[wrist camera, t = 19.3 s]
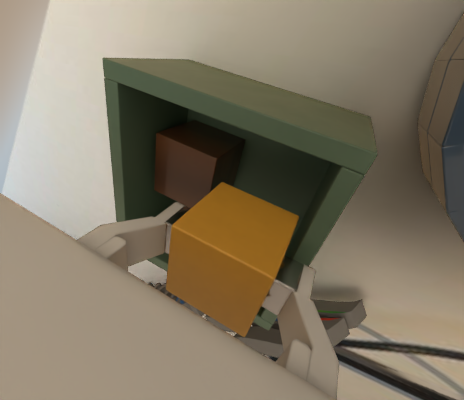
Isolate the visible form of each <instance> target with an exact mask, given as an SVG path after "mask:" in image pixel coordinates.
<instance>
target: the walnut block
mask: <svg viewBox="0 0 464 400" xmlns="http://www.w3.org/2000/svg"><path fill="white" fill-rule="evenodd" d="M244 144H245V139H242V138H240V137H237V136H235V135H232V134H229V133H227V132H224V131H222V130H219V129H217V128H214V127H212V126H209V125H206V124H204V123H201V122H199V121H196V120H193V121H190V122H187V123H184V124H181V125H178V126H175V127H172V128H169V129H166V130H164V131H161V132H158V133H156V157H155V184H154V190H155V191H157V192H159V193H161V194H163V195H165V196H167V197H169V198H171V199H173V200H175V201H177V202H179V203H181V204H183V205H185V206H187V207H189V208H192V207H193V206H195V205H196V204H197V203H198V202H199V201H200V200H202V199H203V198H204V197H205V196H206V195H207V194H209V193H210V192H211V191H212V190H213V189H214V188H215V187H217V186H218V185H219V184H220V183H221V182H224V183H226V184H228V185H231V186H233V185H234V182H235V178H236V174H237V170H238V166H239V163H240V159H241V155H242V151H243V148H244Z"/></svg>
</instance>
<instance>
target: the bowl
mask: <svg viewBox="0 0 464 400" xmlns="http://www.w3.org/2000/svg"><path fill="white" fill-rule="evenodd" d="M435 60H436V61H435V62H434V64H433V68H432V72H431V75H430V79H429V82H428V86H427V89H426V93H425V96H424V100H423V104H422V107H421V111H420V114H419V118H418V133H419V143H420V153H421V163H422V171H423V173H424V175H425V177H426V179H427V180H428V182H429V184H430V185H431V187H432V189H433V191H434V192H435V194H436V196H437V198H438V199H439V201H440V203H441V205H442V206H443V208H444V210H445V212H446V213H447V215H448V217H449V218H450V220H451V222H452V223H453V225H454V227H455V229H456V230H457V232H458V234H459V235H460V237H461V239H462V240H463V242H464V13H463V15H462V17H461V18H460V20H459V21H458V23H457V25H456V26H455V28H454V30H453V31H452V33H451V34H450V36H449V38H448V39H447V41H446V43H445V44H444V46H443V47H442V49H441V51H440V52H439V54H438V56H437V57H436V59H435Z"/></svg>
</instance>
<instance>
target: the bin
mask: <svg viewBox="0 0 464 400" xmlns="http://www.w3.org/2000/svg"><path fill="white" fill-rule="evenodd" d="M103 69H104V77H105V78H104V81H105V92H106V104H107V116H108V127H109V139H110V150H111V162H112V174H113V185H114V197H115V208H116V220H117V222H122V221H127V220H133V219H139V218H145V217H151V216H152V217H154V218H155V217H156V216H157V215H159V214H160V213H161V212H163V211H164V210H165V209H167V208H168V207H169V206H171V205H172V204H173V203H175V202H177V201H175V200H173V199H171V198H169V197H167V196H165V195H163V194H161V193H159V192H157V191H155V190H154V184H155V157H156V133H158V132H161V131H164V130H166V129H169V128H172V127H175V126H178V125H181V124H184V123H187V122H190V121H193V120H196V121H199V122H201V123H204V124H206V125H209V126H212V127H214V128H217V129H219V130H222V131H224V132H227V133H229V134H232V135H235V136H237V137H240V138H242V139H245V144H244V148H243V151H242V155H241V159H240V163H239V166H238V170H237V174H236V178H235V182H234V185H233V187H235V188H237V189H240V190H242V191H244V192H246V193H249V194H251V195H253V196H255V197H258V198H260V199H262V200H264V201H267V202H269V203H271V204H273V205H276V206H278V207H280V208H282V209H285V210H287V211H289V212H291V213H294V214H296V215H298V216H299V220H298V222H297V225H296V227H295V230H294V232H293V235H292V238H291V240H290V243H289V245H288V248H287V250H286V253H285V256H288V257H290V258H292V259H294V260H296V261H298V262H300V263H302V264H304V265H307V266H309V265H310V264H311V262H312V260H313V259H314V257H315V255H316V254H317V252H318V251H319V249H320V247H321V246H322V244H323V242H324V241H325V239H326V238H327V236H328V234H329V233H330V231H331V229H332V228H333V226H334V225H335V223H336V221H337V220H338V218H339V217H340V215H341V213H342V212H343V210H344V208H345V207H346V205H347V204H348V202H349V200H350V199H351V197H352V195H353V194H354V192H355V191H356V189H357V187H358V186H359V184H360V183H361V181H362V179H363V178H364V174H366V173H367V171H368V170H369V168H370V166H371V165H372V163H373V162H374V160H375V158H376V157H377V155H378V153H377V148H376V143H375V137H374V132H373V127H372V122H371V117H369V116H366V115H363V114H360V113H357V112H353V111H350V110H347V109H344V108H341V107H337V106H334V105H331V104H328V103H325V102H322V101H318V100H315V99H312V98H309V97H306V96H303V95H299V94H296V93H293V92H290V91H287V90H284V89H280V88H277V87H274V86H271V85H268V84H264V83H261V82H258V81H255V80H252V79H249V78H245V77H242V76H239V75H236V74H233V73H230V72H226V71H223V70H220V69H217V68H214V67H211V66H207V65H204V64H201V63H198V62H195V61H191V60H183V59H138V58H103ZM147 260H148V261H150V262H152V263H153V264H155V265H157V266H158V267H160V268H162V269H164V270H165V271H168V260H169V254H167V253H165V252H164V253H163V254H160V255H158V256H155V257H152V258H150V259H147ZM276 319H277V315H275V314H274V313H272V312H270V311H269V310H267V309H265V308H264V307H262V306H261V307H260V309H259V311H258V313H257V315H256V317H255V319H254V321H253V322H254V323H256V324H258V325H259V326H261V327H263V328H264V329H266V330H268V331H269V330H270V328H271V327H272V325H273V323H274V322H275V320H276Z"/></svg>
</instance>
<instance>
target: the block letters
mask: <svg viewBox="0 0 464 400" xmlns="http://www.w3.org/2000/svg"><path fill="white" fill-rule="evenodd" d="M148 284H149V285H150V286H152V287H153V285H152V284H151V283H148ZM154 288H155V289H157V290H159V291H160V292H162V293H163V294H165V295H167V296H168V297H170V298H172V299H173V300H175V301H176V302H178V303H180V304H181V305H183V306H185V307H186V308H188V309H189V310H191V311H193V312H194V313H196V314H198V315H199V316H202V315H204V314H205V313H203V312H202V311H200V310H198V309H197V308H195V307H193V306H192V305H190V304H188V303H187V302H185V301H183V300H182V299H180V298H179V297H177V296H175V295H174V294H172V293H170V292H169V291H167V290H166V284H165V285H162V286H161V284H160V283H157V284H156V285H155V286H154ZM310 300H311V299H310ZM312 301H313V302H314V304H315V306H316V309H317V311H318V314H319V316H320V318H321V321H322V323H323V325H324V328H325V330H326V333H327V335H328V337H329V340H330V342H331V344H332V346H335V345H337V344H338V343H339V342H340V341H342V340H343V339H344V338H345V337H347V336H348V335H349V334H350V333H349V330H348V329H352V328H356V327H358V325H359V324H360V323H361V322H362V321H363V320H364V319H365V318H366V316H367V315H366V312H365V308H364V305H363V302H362V299H361V300H358V301H354V302H335V301H322V300H312ZM205 317H206V319H207V321H209V322H211V323H212V324H214V325H215V326H217V327H219V328H220V329H222V330H224V331H228V332H234V331H233V330H231V329H229V328H228V327H226V326H224V325H223V324H221V323H220V322H218V321H216V320H215V319H213V318H211V317H210V316H208V315H206V316H205ZM233 337H235V338H237V339H238V340H240V341H242V342H243V343H245V344H246V345H248V346H250V347H251V348H253V349H255V350H256V351H258V352H259V353H261V354H265V355H269V356H273V357H277V358H279V357H280V356H281V355H282V353H283V352H284V349H283V344H282V339H281V334H280V329H279V324H278V319H276V320H275V322H274V323H273V325H272V327H271V328H270V330H269V331H268V330H266V329H264V328H263V327H261V326H259V325H258V324H256V323H254V322H253V323H252V327H250V329H249V331H248V333H247V335H246V336H245V337H243V336H241V335H239V334H238V333H237V334H236V335H235V336H233Z"/></svg>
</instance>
